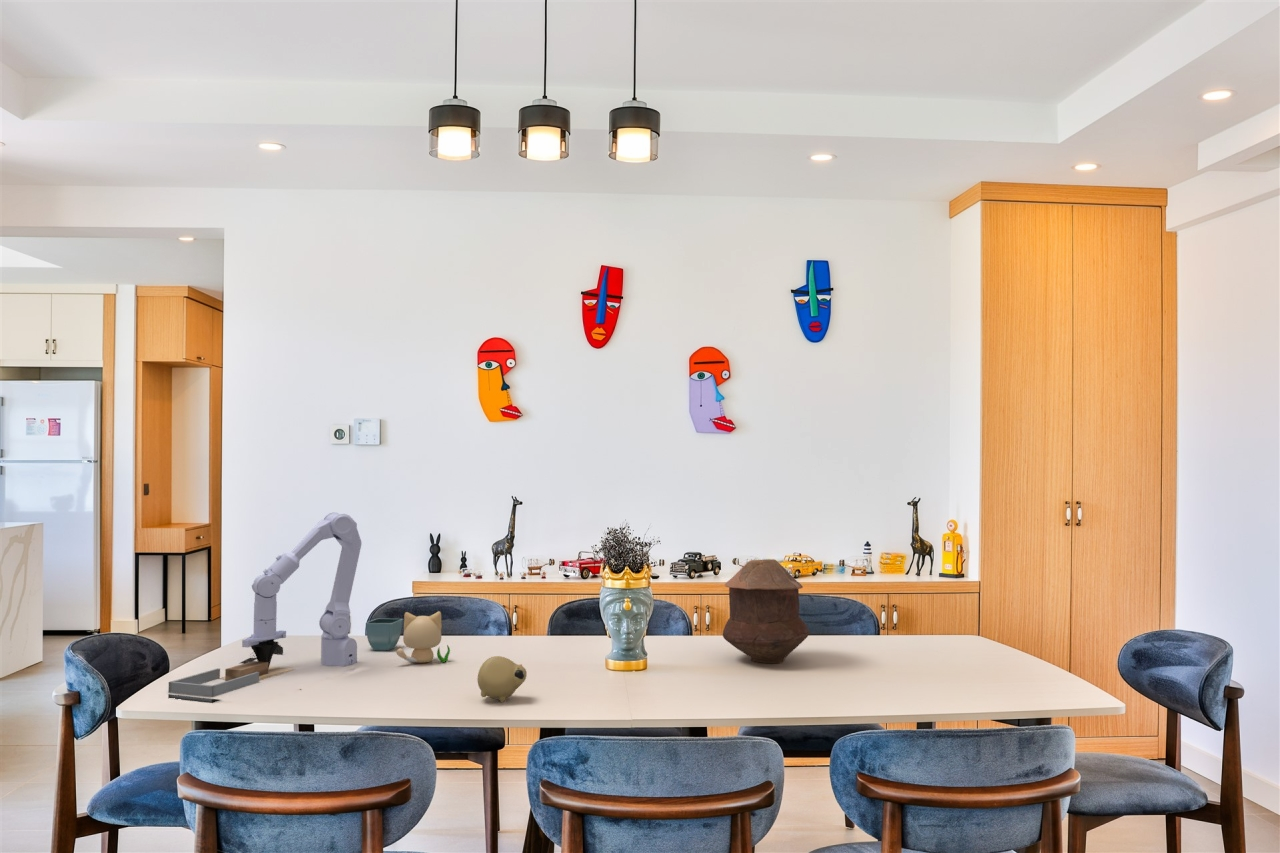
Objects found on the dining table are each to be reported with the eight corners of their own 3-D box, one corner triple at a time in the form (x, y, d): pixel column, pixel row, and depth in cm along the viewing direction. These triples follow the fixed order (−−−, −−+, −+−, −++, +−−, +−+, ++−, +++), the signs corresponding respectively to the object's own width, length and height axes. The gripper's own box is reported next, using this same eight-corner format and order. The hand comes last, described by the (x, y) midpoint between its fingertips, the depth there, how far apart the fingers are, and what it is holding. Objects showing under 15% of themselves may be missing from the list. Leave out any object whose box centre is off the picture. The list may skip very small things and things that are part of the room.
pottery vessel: (802, 673, 247) (801, 565, 248) (713, 666, 255) (713, 562, 257) (814, 654, 271) (814, 556, 273) (733, 649, 280) (732, 554, 281)
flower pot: (376, 646, 283) (377, 617, 284) (402, 646, 282) (403, 618, 283) (364, 651, 275) (364, 622, 275) (391, 652, 273) (391, 623, 274)
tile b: (254, 677, 234) (254, 666, 235) (240, 682, 230) (240, 670, 230) (239, 676, 236) (239, 664, 236) (225, 680, 231) (225, 668, 231)
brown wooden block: (268, 673, 239) (268, 662, 239) (254, 677, 234) (254, 666, 235) (253, 672, 241) (253, 661, 241) (239, 676, 236) (239, 664, 236)
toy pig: (524, 705, 214) (524, 660, 214) (474, 705, 214) (474, 660, 214) (528, 694, 224) (528, 652, 224) (480, 694, 224) (481, 652, 224)
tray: (258, 687, 230) (259, 672, 230) (211, 703, 215) (212, 686, 215) (217, 683, 234) (217, 668, 234) (168, 698, 219) (168, 682, 219)
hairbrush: (222, 663, 247) (262, 641, 272) (222, 676, 247) (262, 653, 272) (251, 664, 247) (289, 641, 272) (251, 677, 247) (289, 653, 272)
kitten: (450, 657, 266) (451, 607, 267) (449, 665, 256) (449, 613, 257) (399, 659, 264) (400, 609, 264) (396, 667, 254) (396, 614, 255)
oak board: (295, 674, 244) (295, 669, 244) (256, 687, 230) (256, 681, 230) (260, 671, 248) (260, 665, 248) (219, 683, 234) (219, 678, 234)
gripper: (272, 613, 250) (271, 662, 249) (233, 622, 236) (232, 673, 236) (292, 615, 248) (291, 664, 247) (254, 624, 234) (253, 675, 233)
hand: (264, 669), depth 241 cm, fingers closed
